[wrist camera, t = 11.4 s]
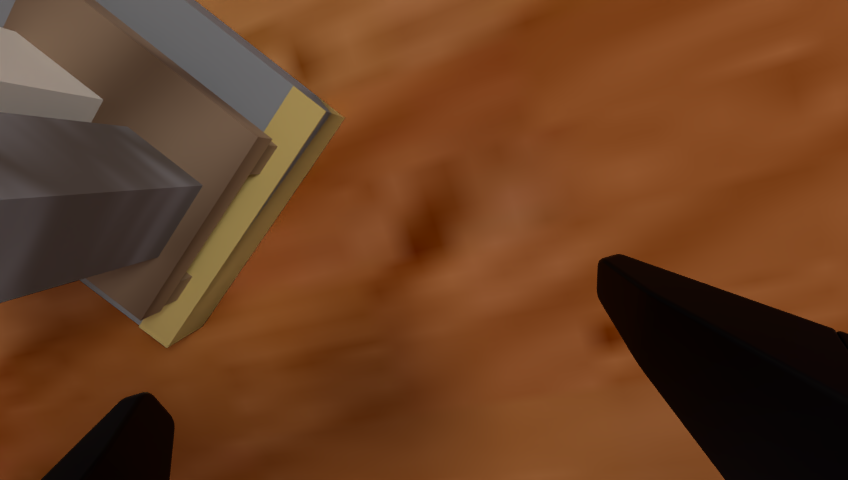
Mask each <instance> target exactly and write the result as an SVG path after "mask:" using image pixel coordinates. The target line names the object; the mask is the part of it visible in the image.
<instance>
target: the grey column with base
mask: <svg viewBox="0 0 848 480" xmlns="http://www.w3.org/2000/svg"><path fill="white" fill-rule="evenodd" d="M3 28H5V29H8V30H12V31H15V32H17V33H18V34H19V35H21V36H22V37H23V38H25V39H26V40H27V41H28V42H30V43H31V44H32V45H34V46H35V47H36V48H37V49H39V50H40V51H41V52H43V53H44V54H45V55H46V56H48V57H49V58H50V59H52V60H53V61H54V62H55V63H57V64H58V65H59V66H61V67H62V68H63V69H64V70H66V71H67V72H68V73H70V74H71V75H72V76H73V77H75V78H76V79H77V80H79V81H80V82H81V83H82V84H84V85H85V86H86V87H88V88H89V89H90V90H91V91H93V92H94V93H95V94H97V95H98V96H99V97H100V98H102V99H103V101H102V103H101V105H100V107H99V109H98V111H97V113H96V114H95V116H94V118H93V120H92V122H82V121H73V120H64V119H56V118H47V117H38V116H29V115H20V114H12V113H3V112H0V303H1V302H5V301H8V300H12V299H15V298H19V297H22V296H26V295H29V294H33V293H36V292H39V291H43V290H46V289H50V288H53V287H57V286H60V285H64V284H67V283H71V282H74V281H77V280H81V279H84V278H86V279H87V280H88V281H89V282H91V283H92V284H93V285H95V286H96V287H97V288H99V289H100V290H101V291H102V292H104V293H105V294H106V295H108V296H109V297H110V298H112V299H113V300H114V301H115V302H117V303H118V304H119V305H121V306H122V307H123V308H125V309H126V310H127V311H129V312H130V313H131V314H132V315H134V316H135V317H136V318H138V319H139V320H140V321H141V320H143V319H145V318H147V317H149V316H152V315H154V314H156V313H158V312H160V311H161V310H162V308H163V307H164V306H165V305H168V304H170V303H172V302H174V301H176V300H177V299H178V298H179V296H180V295H181V293H182V292H183V290H184V289H185V287H186V286H187V284H188V283H189V281H190V279H191V278H192V276H191V275H189V274H188V273H187V272H186V271H187V270H188V268H189V267H190V265H191V264H192V262H193V261H194V259H195V257H196V256H197V254H198V253H199V251H200V250H201V248H202V247H203V245H204V244H205V242H206V241H207V239H208V237H209V236H210V234H211V233H212V231H213V230H214V228H215V227H216V225H217V224H218V222H219V221H220V219H221V217H222V216H223V214H224V213H225V211H226V210H227V208H228V207H229V205H230V204H231V202H232V201H233V199H234V197H235V196H236V194H237V193H238V191H239V190H240V188H241V187H242V185H243V184H244V182H245V181H246V179H247V177H248V176H249V175H252V174H260V173H261V171H262V170H263V168H264V167H265V165H266V164H267V162H268V161H269V159H270V157H271V156H272V154H273V153H274V151H275V150H276V148H277V147H278V146H277V145H275V144H274V143H273V142H272V141H271V140H272V138H270V137H269V136H268V135H267V134H265V133H264V132H263V131H261V130H260V129H259V128H258V127H256V126H255V125H254V124H253V123H251V122H250V121H249V120H247V119H246V118H245V117H244V116H242V115H241V114H240V113H238V112H237V111H236V110H235V109H233V108H232V107H231V106H230V105H228V104H227V103H226V102H224V101H223V100H222V99H221V98H219V97H218V96H217V95H215V94H214V93H213V92H212V91H210V90H209V89H208V88H207V87H205V86H204V85H203V84H201V83H200V82H199V81H198V80H196V79H195V78H194V77H192V76H191V75H190V74H189V73H187V72H186V71H185V70H184V69H182V68H181V67H180V66H178V65H177V64H176V63H175V62H173V61H172V60H171V59H169V58H168V57H167V56H166V55H164V54H163V53H162V52H160V51H159V50H158V49H157V48H155V47H154V46H153V45H152V44H150V43H149V42H148V41H146V40H145V39H144V38H143V37H141V36H140V35H139V34H137V33H136V32H135V31H134V30H132V29H131V28H130V27H129V26H127V25H126V24H125V23H123V22H122V21H121V20H120V19H118V18H117V17H116V16H114V15H113V14H112V13H111V12H109V11H108V10H107V9H106V8H104V7H103V6H102V5H100V4H99V3H98V2H97V1H95V0H15V2H14V5H13V7H12V9H11V11H10V13H9V16H8V18H7V20H6V22H5V24H4V26H3Z"/></svg>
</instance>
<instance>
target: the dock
mask: <svg viewBox="0 0 848 480" xmlns="http://www.w3.org/2000/svg"><path fill="white" fill-rule="evenodd" d="M95 1H97V2H98V3H99V4H100V5H102V6H103V7H104V8H106V9H107V10H108V11H109V12H111V13H112V14H113V15H114V16H116V17H117V18H118V19H120V20H121V21H122V22H123V23H125V24H126V25H127V26H129V27H130V28H131V29H132V30H134V31H135V32H136V33H137V34H139V35H140V36H141V37H143V38H144V39H145V40H146V41H148V42H149V43H150V44H152V45H153V46H154V47H155V48H157V49H158V50H159V51H160V52H162V53H163V54H164V55H166V56H167V57H168V58H169V59H171V60H172V61H173V62H175V63H176V64H177V65H178V66H180V67H181V68H182V69H184V70H185V71H186V72H187V73H189V74H190V75H191V76H192V77H194V78H195V79H196V80H198V81H199V82H200V83H201V84H203V85H204V86H205V87H207V88H208V89H209V90H210V91H212V92H213V93H214V94H215V95H217V96H218V97H219V98H221V99H222V100H223V101H224V102H226V103H227V104H228V105H230V106H231V107H232V108H233V109H235V110H236V111H237V112H238V113H240V114H241V115H242V116H244V117H245V118H246V119H247V120H249V121H250V122H251V123H253V124H254V125H255V126H256V127H258V128H259V129H260V130H261V131H263V132H264V133H265V134H267V135H268V136H269V137H270V138H272V140H271V141H272V142H273V143H274V144H275V145H277V146H278V147H277V148H276V150H275V151H274V153H273V154H272V156H271V157H270V159H269V161H268V162H267V164H266V165H265V167H264V168H263V170H262V171H261V173H260V174H252V175H249V176H248V177H247V179H246V181H245V182H244V184H243V185H242V187H241V188H240V190H239V191H238V193H237V194H236V196H235V197H234V199H233V201H232V202H231V204H230V205H229V207H228V208H227V210H226V211H225V213H224V214H223V216H222V217H221V219H220V221H219V222H218V224H217V225H216V227H215V228H214V230H213V231H212V233H211V234H210V236H209V237H208V239H207V241H206V242H205V244H204V245H203V247H202V248H201V250H200V251H199V253H198V254H197V256H196V257H195V259H194V261H193V262H192V264H191V265H190V267H189V268H188V270H187V271H186V272H187V273H188V274H189V275H191V276H192V278H191V279H190V281H189V283H188V284H187V286H186V287H185V289H184V290H183V292H182V293H181V295H180V296H179V298H178V299H177V300H176V301H174V302H172V303H170V304H168V305H165V306H164V307H163V308H162V310H161V311H160V312H158V313H156V314H154V315H152V316H149V317H147V318H145V319H143V320H141V321H140V320H139V319H138V318H136V317H135V316H134V315H132V314H131V313H130V312H129V311H127V310H126V309H125V308H123V307H122V306H121V305H119V304H118V303H117V302H115V301H114V300H113V299H112V298H110V297H109V296H108V295H106V294H105V293H104V292H102V291H101V290H100V289H99V288H97V287H96V286H95V285H93V284H92V283H91V282H89V281H88V280H87V279H86V278H84V279H81V280H80V281H81V282H83V283H84V284H85V285H87V286H88V287H89V288H91V289H92V290H93V291H95V292H96V293H97V294H99V295H100V296H101V297H103V298H104V299H105V300H107V301H108V302H109V303H111V304H112V305H113V306H115V307H116V308H117V309H118V310H120V311H121V312H122V313H124V314H125V315H126V316H128V317H129V318H130V319H132V320H133V321H134V322H136V323H137V324H138V325H139V327H140V328H141V329H142V330H144V331H145V332H146V333H148V334H149V335H150V336H151V337H153V338H154V339H155V340H157V341H158V342H159V343H161V344H162V345H163V346H165V347H166V348H168V347H170V346H171V345H173V344H175V343H176V342H178V341H179V340H181V339H183V338H184V337H186V336H188V335H189V334H191V333H193V332H194V331H196V330H197V329H199V328H201V327H202V326H203V325H204V323H205V322H206V320H207V319H208V318H209V316H210V315H211V313H212V312H213V310H214V309H215V307H216V306H217V304H218V303H219V301H220V300H221V299H222V297H223V296H224V294H225V293H226V291H227V290H228V288H229V287H230V285H231V284H232V282H233V281H234V280H235V278H236V277H237V275H238V274H239V272H240V271H241V269H242V268H243V266H244V265H245V264H246V262H247V261H248V259H249V258H250V256H251V255H252V253H253V252H254V250H255V249H256V247H257V246H258V245H259V243H260V242H261V240H262V239H263V237H264V236H265V234H266V233H267V231H268V230H269V228H270V227H271V226H272V224H273V223H274V221H275V220H276V218H277V217H278V215H279V214H280V212H281V211H282V209H283V208H284V207H285V205H286V204H287V202H288V201H289V199H290V198H291V196H292V195H293V193H294V192H295V190H296V189H297V188H298V186H299V185H300V183H301V182H302V180H303V179H304V177H305V176H306V174H307V173H308V171H309V170H310V169H311V167H312V166H313V164H314V163H315V161H316V160H317V158H318V157H319V155H320V154H321V152H322V151H323V150H324V148H325V147H326V145H327V144H328V142H329V141H330V139H331V138H332V136H333V135H334V133H335V132H336V131H337V129H338V128H339V126H340V125H341V123H342V122H343V120H344V119H345V118H344V117H343V116H342V115H340V114H339V113H338V112H337V111H335V110H334V109H333V108H331V107H330V106H329V105H328V104H326V103H325V102H324V101H322V100H321V99H320V98H319V97H317V96H316V95H315V94H314V93H312V92H311V91H310V90H308V89H307V88H306V87H305V86H303V85H302V84H301V83H300V82H298V81H297V80H296V79H294V78H293V77H292V76H291V75H289V74H288V73H287V72H286V71H284V70H283V69H282V68H280V67H279V66H278V65H277V64H275V63H274V62H273V61H271V60H270V59H269V58H268V57H266V56H265V55H264V54H263V53H261V52H260V51H259V50H257V49H256V48H255V47H254V46H252V45H251V44H250V43H249V42H247V41H246V40H245V39H243V38H242V37H241V36H240V35H238V34H237V33H236V32H235V31H233V30H232V29H231V28H229V27H228V26H227V25H226V24H224V23H223V22H222V21H220V20H219V19H218V18H217V17H215V16H214V15H213V14H212V13H210V12H209V11H208V10H206V9H205V8H204V7H203V6H201V5H200V4H199V3H198V2H196V1H195V0H95ZM14 2H15V0H0V27H2V28H3V26H4V24H5V22H6V20H7V18H8V16H9V13H10V11H11V9H12V7H13V5H14Z"/></svg>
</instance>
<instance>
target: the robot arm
mask: <svg viewBox="0 0 848 480" xmlns="http://www.w3.org/2000/svg"><path fill="white" fill-rule="evenodd" d="M597 294H598V298H599V300H600V302H601V304H602V305H603V307H604V309H605V310H606V312H607V314H608V315H609V317H610V319H611V320H612V322H613V324H614V325H615V327H616V329H617V330H618V332H619V334H620V335H621V337H622V339H623V340H624V342H625V344H626V345H627V347H628V349H629V350H630V352H631V354H632V355H633V357H634V358H635V360H636V362H637V363H638V365H639V366H640V367H641V369H642V370H643V372H644V373H645V374H646V376H647V377H648V378H649V380H650V381H651V382H652V384H653V385H654V386H655V388H656V389H657V390H658V392H659V393H660V394H661V396H662V397H663V398H664V399H665V401H666V402H667V403H668V405H669V406H670V407H671V409H672V410H673V411H674V413H675V414H676V415H677V417H678V418H679V419H680V421H681V422H682V423H683V425H684V426H685V427H686V429H687V430H688V431H689V433H690V434H691V435H692V437H693V438H694V439H695V440H696V442H697V443H698V444H699V446H700V447H701V448H702V450H703V451H704V452H705V454H706V455H707V456H708V458H709V459H710V460H711V462H712V463H713V464H714V466H715V467H716V468H717V470H718V471H719V472H720V474H721V475H722V476H723V478H724V479H725V480H848V334H847V333H844V332H841V331H838V332H836V331H835V330H834V329H832V328H830V327H827V326H824V325H821V324H818V323H816V322H813V321H810V320H807V319H804V318H801V317H798V316H796V315H793V314H790V313H787V312H784V311H781V310H779V309H776V308H773V307H770V306H767V305H764V304H762V303H759V302H756V301H753V300H750V299H747V298H744V297H742V296H739V295H736V294H733V293H730V292H727V291H725V290H722V289H719V288H716V287H713V286H710V285H707V284H705V283H702V282H699V281H696V280H693V279H690V278H688V277H685V276H682V275H679V274H676V273H673V272H670V271H668V270H665V269H662V268H659V267H656V266H653V265H651V264H648V263H645V262H642V261H639V260H636V259H634V258H631V257H628V256H625V255H622V254H616V255H612V256H609V257H605V258H602V259H601V260H600V261H599V263H598V271H597ZM173 439H174V421H173V419H172V416H171V415H170V414H169V413H168V412H167V410H166V409H165V408H164V407H163V406H162V405H161V404H160V402H159V401H158V400H157V399H156V398H155V397H154V396H153V395H152V394H150V393H148V392H143V393H139V394H136V395H132V396H129V397H126V398H124V399H122V400H121V401H120V402H119V403H118V404H117V405H116V406H115V407H114V408H113V409H112V410H111V411H110V412H109V413H108V414H107V415H106V416H105V417H104V418H103V419H102V420H101V421H100V422H99V423H98V424H97V425H96V426H95V427H94V428H93V429H92V430H91V431H89V432H88V433H87V434H86V435H85V436H84V437H83V438H82V439H81V440H80V441H79V442H78V443H77V444H76V445H75V446H74V447H73V448H72V449H71V450H70V451H69V452H68V453H67V454H66V455H65V456H64V457H63V458H62V459H61V460H60V461H59V462H58V463H57V464H56V465H55V466H54V467H53V468H52V469H51V470H50V471H49V472H48V473H47V474H46V475H45V476H44V477H43V478H42V479H41V480H169V479H170V469H171V459H172V449H173Z"/></svg>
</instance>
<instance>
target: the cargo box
mask: <svg viewBox="0 0 848 480" xmlns="http://www.w3.org/2000/svg"><path fill="white" fill-rule="evenodd" d="M102 101H103V99H102V98H100V97H99V96H98V95H97V94H95V93H94V92H93V91H91V90H90V89H89V88H88V87H86V86H85V85H84V84H82V83H81V82H80V81H79V80H77V79H76V78H75V77H73V76H72V75H71V74H70V73H68V72H67V71H66V70H64V69H63V68H62V67H61V66H59V65H58V64H57V63H55V62H54V61H53V60H52V59H50V58H49V57H48V56H46V55H45V54H44V53H43V52H41V51H40V50H39V49H37V48H36V47H35V46H34V45H32V44H31V43H30V42H28V41H27V40H26V39H25V38H23V37H22V36H21V35H19V34H18V33H17V32H15V31H12V30H8V29H5V28H2V27H0V112H3V113H12V114H20V115H29V116H38V117H47V118H56V119H64V120H73V121H82V122H92V120H93V118H94V116H95V114H96V113H97V111H98V109H99V107H100V105H101V103H102Z"/></svg>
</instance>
